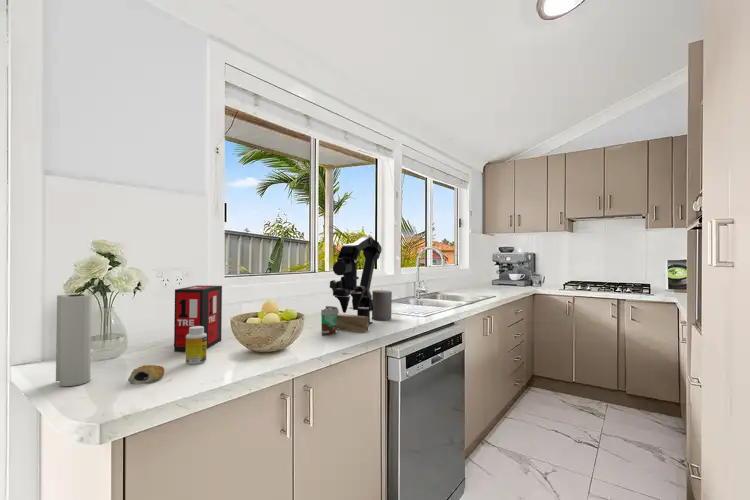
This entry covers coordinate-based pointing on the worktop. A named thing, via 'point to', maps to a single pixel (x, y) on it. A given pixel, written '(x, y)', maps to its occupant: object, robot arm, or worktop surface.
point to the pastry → (146, 374)
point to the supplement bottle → (196, 345)
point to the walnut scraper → (352, 322)
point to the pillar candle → (382, 304)
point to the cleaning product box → (197, 314)
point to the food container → (329, 320)
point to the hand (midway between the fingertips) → (349, 311)
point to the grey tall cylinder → (73, 339)
